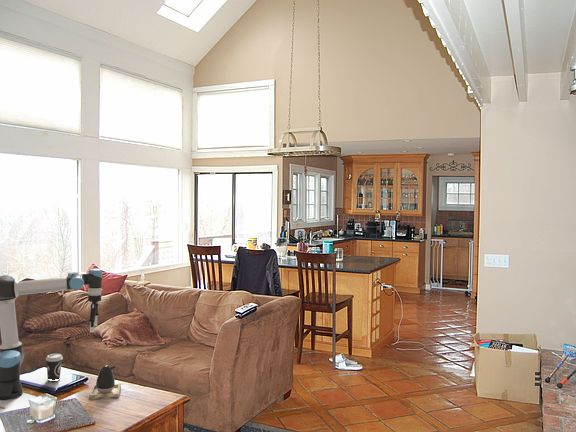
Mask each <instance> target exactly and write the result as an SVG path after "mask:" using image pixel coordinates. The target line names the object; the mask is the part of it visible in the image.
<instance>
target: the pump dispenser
mask: <svg viewBox="0 0 576 432" xmlns="http://www.w3.org/2000/svg"><path fill="white" fill-rule="evenodd" d="M115 368H116V365H113V366H109V365H104V366H102V367H101V368H100V370H99V372H98V374H97V377H96V382H95V385H96V387H97V390H98V392H100V393H109V392H111V391H112V390H113V388H114V386H115V384H116V381H115V375H114V372H113V370H114V369H115Z"/></svg>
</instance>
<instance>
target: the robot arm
mask: <svg viewBox="0 0 576 432" xmlns="http://www.w3.org/2000/svg"><path fill="white" fill-rule="evenodd" d="M102 285H103V271H102V269H101V268H91V269H89V270H88V271H87V272H79V271H78V272H75V271H74V272H68V273H67V276H62V277H53V278H51V277H50V278H41V279H32V280H31V279H30V280H23V281H22V280H21V281H18V280H16V278H14V277H13V276H11V275H7V274H6V275H5V274H4V275H0V337H1V344H0V401H6V400H12V399H16V398H19V397H21V396H22V395H23V394H24V388H23V385H22V383H21V379H20V378H21V365H22V363H24V362H23V361H24V359H25V355H26V354H25V351H24V348H23V342H21V341H20V340H19V331H18V330H19V329H18V323H17V322H18V321H17V313H16V312H17V311H16V305H15V302H16V301H15V300H17V298H18V297H19V296H24V295H34V294H42V293H50V292H59V291H61V292H62V291H79V290H81V289H83V287H84V286H88V288H87V290H88V291H87V294H88V295H87V301H88V302H90V303H91V304H90V313H89V314H90V315H89V320H88V322H89V333H95V331H96V328H95V327H98V317H99V316H100V313H99V302H101V301H102V291H103V288H102Z"/></svg>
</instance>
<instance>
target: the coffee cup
mask: <svg viewBox="0 0 576 432" xmlns="http://www.w3.org/2000/svg"><path fill="white" fill-rule="evenodd" d="M63 360H64V357H63V355H62V354H60V353H51V354H48V355H47V356H46V358H45V361H46V371H47V372H46V374H47V380H48V379H52V380H55V379H59V378H61V373H62V372H61V370H62V364H63V362H62V361H63ZM59 380H60V379H59Z"/></svg>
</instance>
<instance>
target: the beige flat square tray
mask: <svg viewBox="0 0 576 432" xmlns="http://www.w3.org/2000/svg"><path fill="white" fill-rule="evenodd" d="M121 389H122V384H121V383H115V386H114V388H113V390H112V391H111V392H109V393H100V392H98V390H97V387H96V384H92V385H91V387H90V391H89V394H88V400H91V401H92V400H110V399H120V395H121V394H120V393H121Z"/></svg>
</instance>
